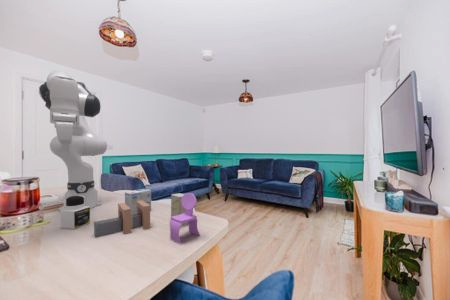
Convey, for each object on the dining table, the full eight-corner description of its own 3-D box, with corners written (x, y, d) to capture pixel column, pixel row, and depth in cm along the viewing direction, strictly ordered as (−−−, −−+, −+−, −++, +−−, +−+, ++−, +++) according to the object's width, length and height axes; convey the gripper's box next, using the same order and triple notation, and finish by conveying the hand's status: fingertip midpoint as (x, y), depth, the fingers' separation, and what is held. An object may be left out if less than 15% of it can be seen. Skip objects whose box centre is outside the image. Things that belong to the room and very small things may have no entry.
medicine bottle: (74, 229, 78) (74, 198, 78) (59, 228, 79) (59, 198, 79) (90, 222, 85) (90, 194, 85) (76, 221, 86) (76, 194, 86)
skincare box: (170, 223, 83) (170, 194, 83) (179, 220, 86) (179, 192, 86) (179, 227, 79) (179, 196, 79) (188, 224, 82) (188, 194, 82)
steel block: (94, 234, 73) (94, 221, 73) (144, 222, 84) (144, 211, 84) (95, 237, 70) (95, 224, 70) (147, 225, 81) (147, 214, 81)
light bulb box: (144, 208, 105) (144, 188, 105) (151, 210, 101) (151, 189, 101) (124, 213, 97) (124, 191, 97) (131, 216, 93) (131, 193, 93)
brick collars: (118, 225, 81) (118, 203, 81) (142, 220, 87) (142, 200, 87) (124, 234, 73) (123, 210, 73) (150, 227, 78) (150, 205, 78)
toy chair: (167, 238, 69) (166, 195, 69) (187, 230, 76) (187, 191, 76) (181, 245, 64) (181, 198, 64) (202, 236, 70) (201, 194, 70)
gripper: (56, 121, 83) (56, 155, 83) (52, 114, 66) (52, 155, 66) (75, 122, 86) (75, 154, 86) (76, 116, 70) (76, 155, 70)
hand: (65, 155), depth 76 cm, fingers open, 8 cm apart
